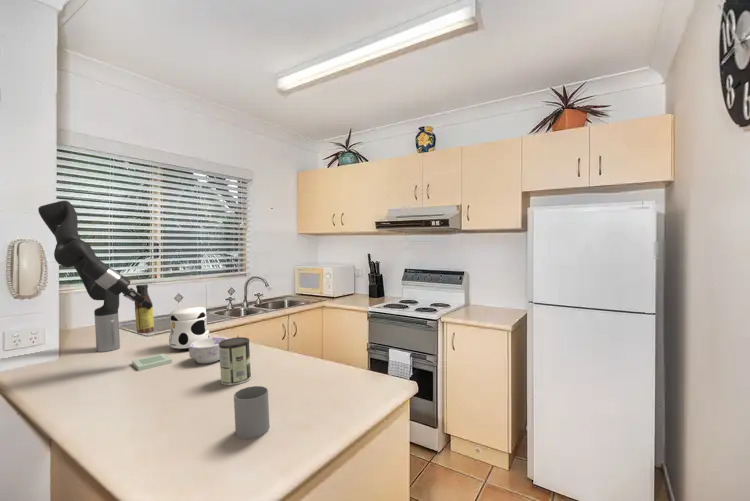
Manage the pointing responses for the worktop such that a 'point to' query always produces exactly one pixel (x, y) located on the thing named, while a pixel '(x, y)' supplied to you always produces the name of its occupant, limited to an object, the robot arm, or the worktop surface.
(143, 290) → the sauce bottle
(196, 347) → the paper bowls
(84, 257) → the robot arm
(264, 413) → the cup
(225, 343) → the coffee can
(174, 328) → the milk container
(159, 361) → the trivet
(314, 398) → the worktop surface
